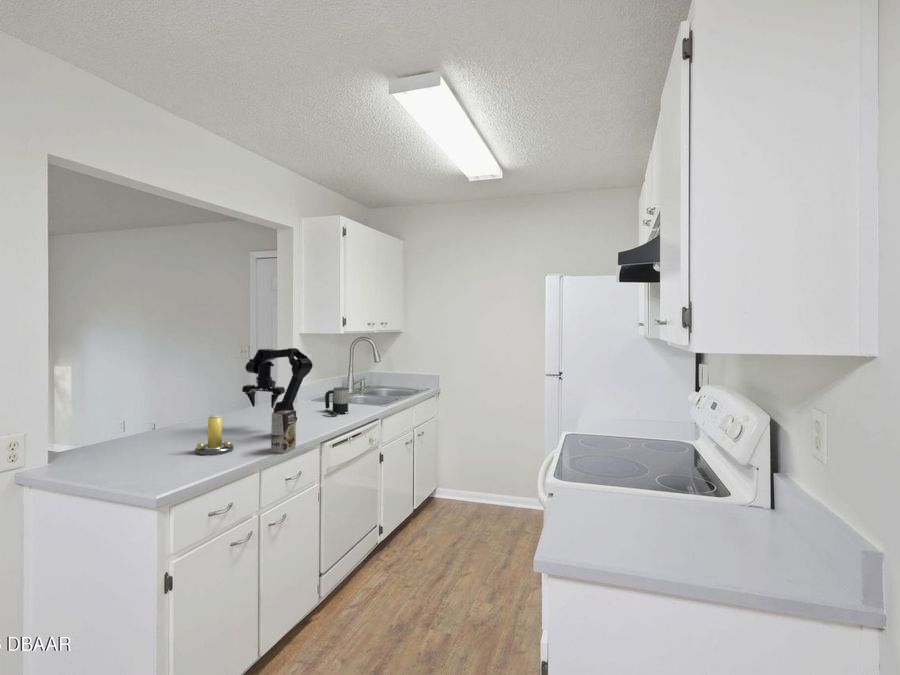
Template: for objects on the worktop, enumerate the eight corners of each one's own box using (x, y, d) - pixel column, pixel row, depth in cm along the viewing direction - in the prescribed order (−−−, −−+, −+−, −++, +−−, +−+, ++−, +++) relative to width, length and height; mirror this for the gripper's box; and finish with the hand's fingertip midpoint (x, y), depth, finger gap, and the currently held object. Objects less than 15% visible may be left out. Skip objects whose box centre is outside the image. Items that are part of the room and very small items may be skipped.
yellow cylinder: (223, 445, 198) (223, 414, 197) (220, 448, 193) (220, 416, 192) (209, 445, 196) (209, 414, 196) (206, 448, 191) (206, 417, 191)
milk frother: (348, 411, 286) (348, 386, 286) (350, 416, 271) (351, 390, 271) (323, 412, 282) (324, 387, 282) (324, 417, 267) (325, 391, 267)
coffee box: (284, 453, 192) (285, 414, 192) (270, 452, 194) (270, 413, 193) (296, 448, 201) (296, 410, 201) (282, 446, 203) (283, 409, 202)
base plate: (222, 444, 204) (222, 435, 204) (240, 450, 196) (240, 440, 196) (188, 451, 193) (188, 441, 193) (205, 457, 185) (205, 447, 185)
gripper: (289, 374, 236) (288, 405, 237) (253, 371, 237) (251, 402, 237) (280, 377, 225) (279, 409, 225) (242, 374, 226) (241, 407, 226)
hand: (263, 407), depth 229 cm, fingers open, 9 cm apart
